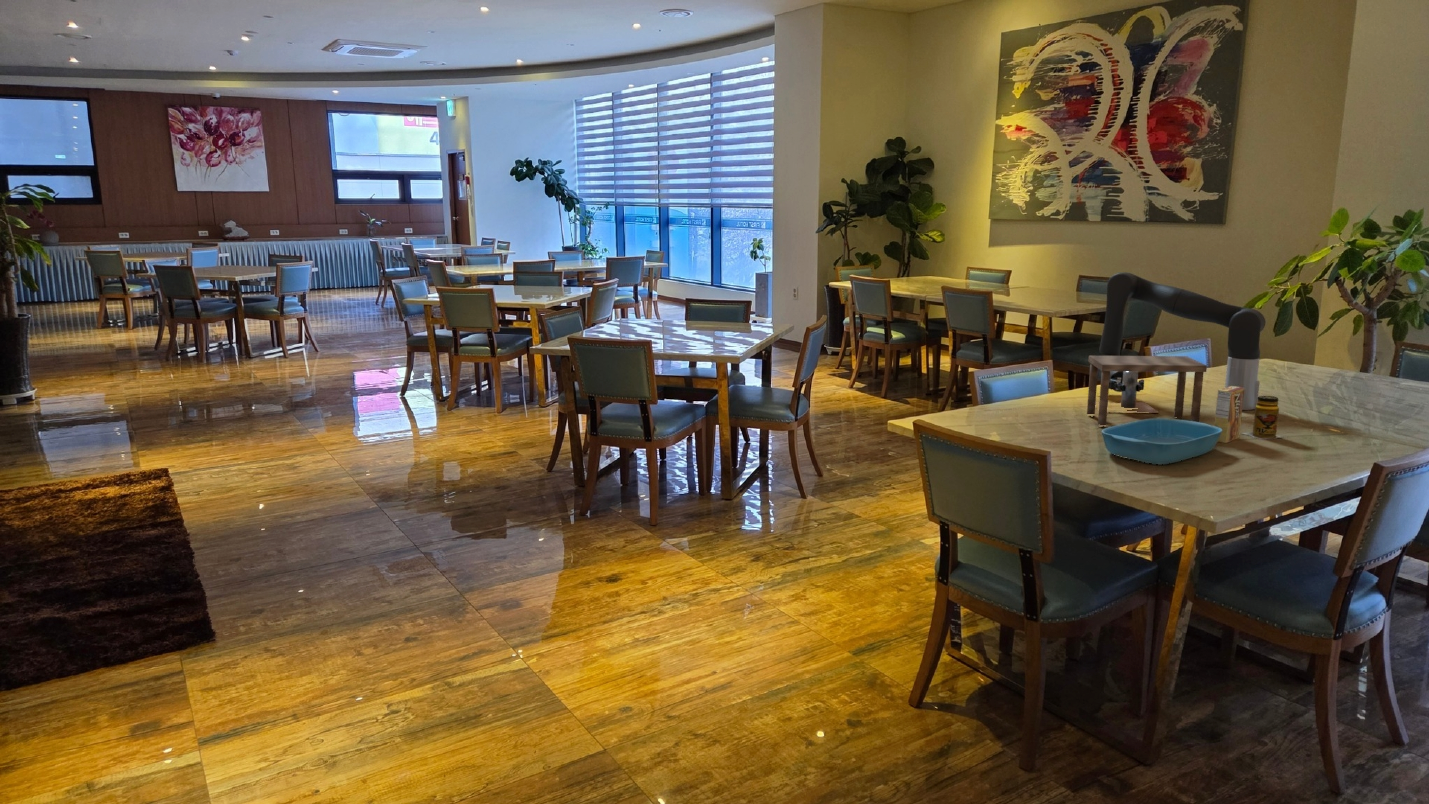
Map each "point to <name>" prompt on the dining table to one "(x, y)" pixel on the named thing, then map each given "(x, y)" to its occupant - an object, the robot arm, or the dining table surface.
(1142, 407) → the rubber mat
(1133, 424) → the casserole dish
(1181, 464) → the dining table surface
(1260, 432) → the condiment
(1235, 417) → the candy box
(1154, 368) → the low stand
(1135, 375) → the metal canister
